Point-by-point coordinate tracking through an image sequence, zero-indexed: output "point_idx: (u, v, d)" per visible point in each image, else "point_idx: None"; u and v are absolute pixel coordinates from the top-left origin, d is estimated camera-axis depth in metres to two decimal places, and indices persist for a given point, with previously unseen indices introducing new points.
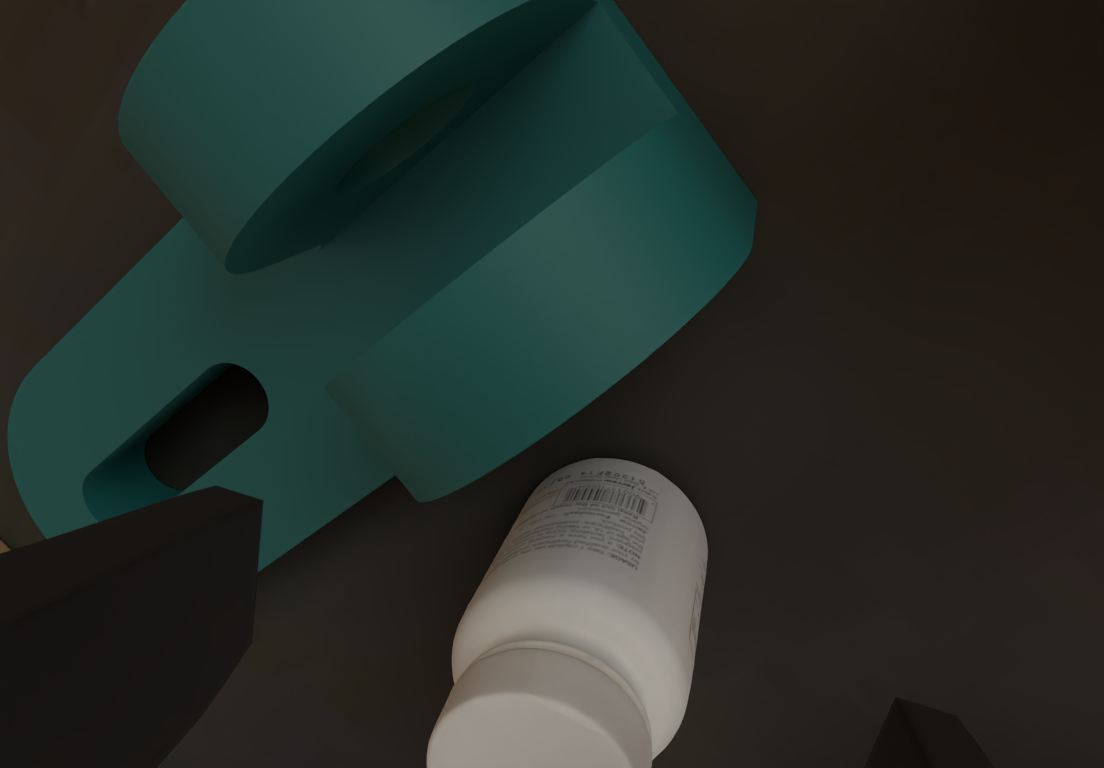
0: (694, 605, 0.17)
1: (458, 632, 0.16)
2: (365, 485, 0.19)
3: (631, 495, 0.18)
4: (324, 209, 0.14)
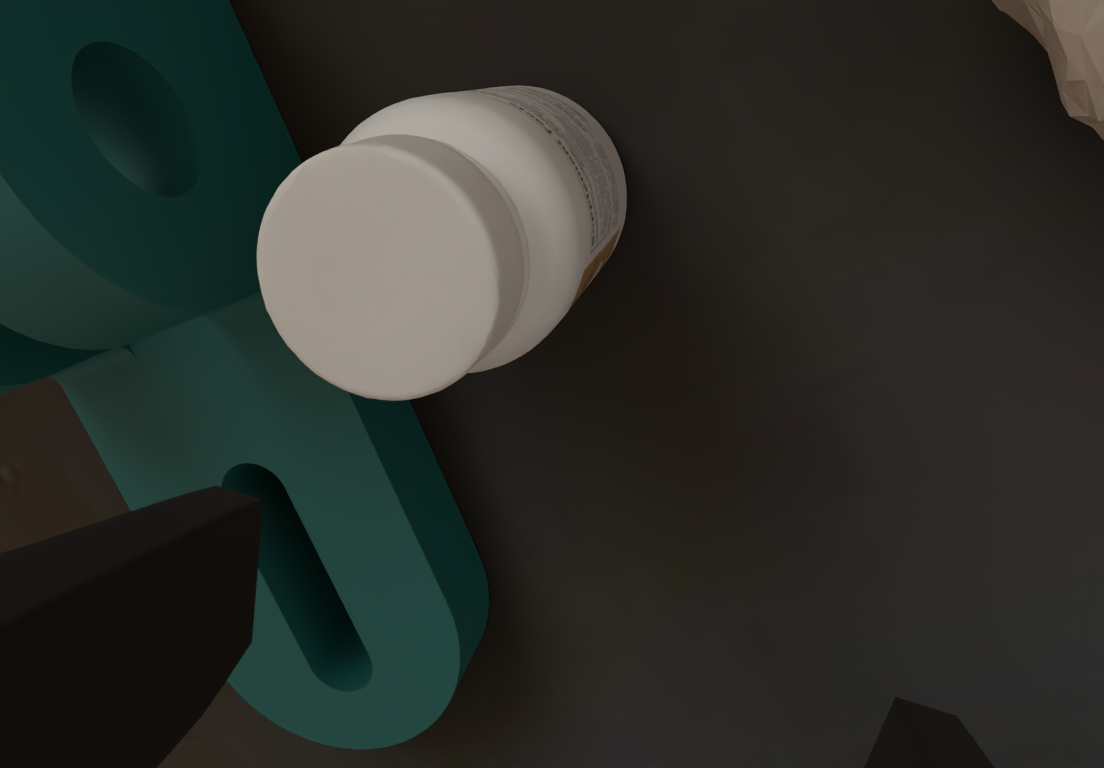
0: (476, 90, 0.15)
1: None
2: (348, 411, 0.19)
3: None
4: None
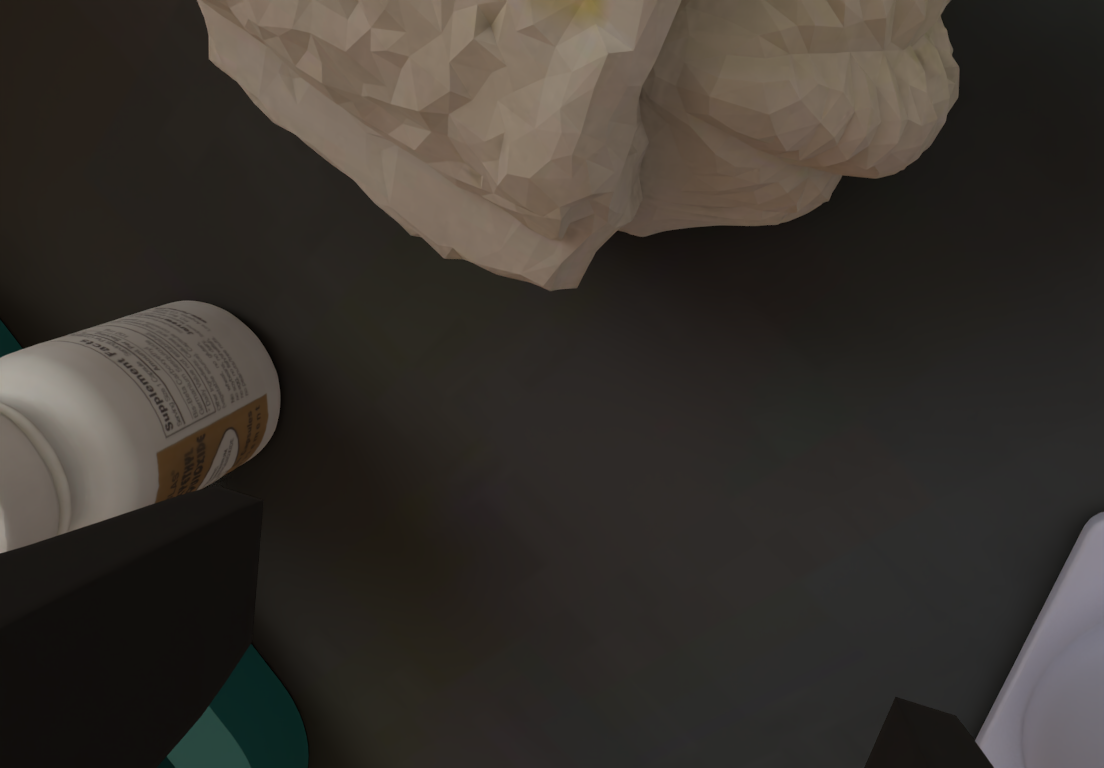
0: (82, 330, 0.19)
1: None
2: None
3: None
4: None
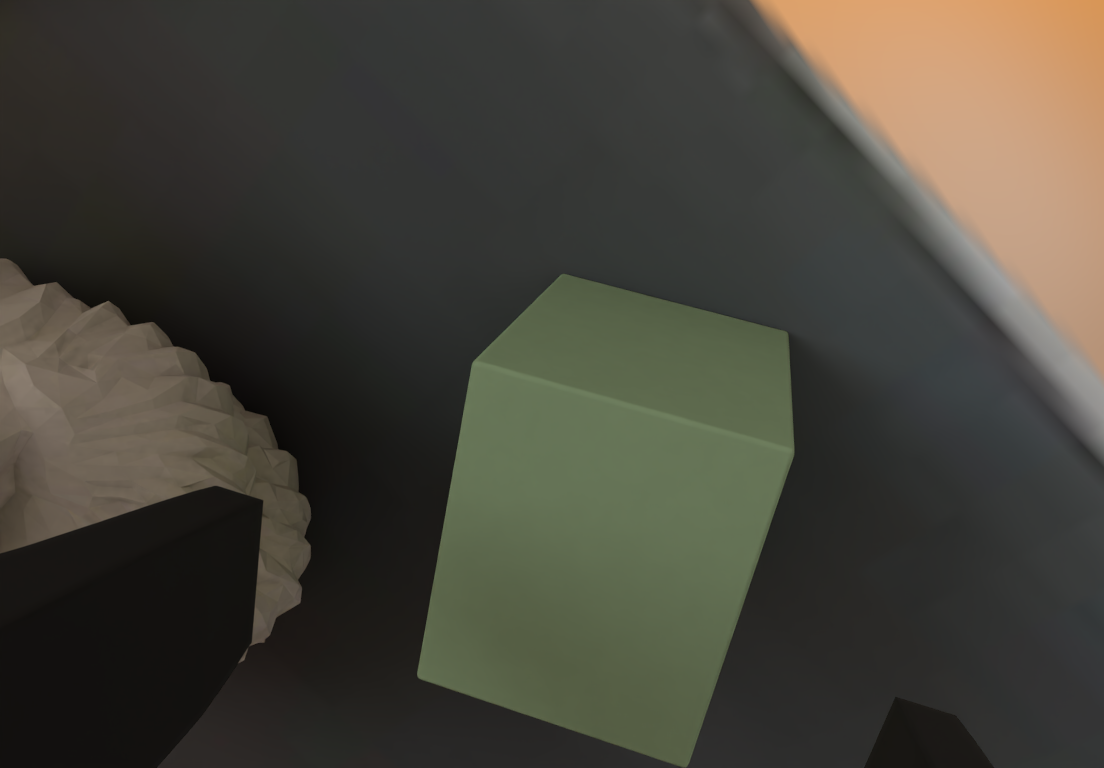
0: None
1: None
2: None
3: None
4: None
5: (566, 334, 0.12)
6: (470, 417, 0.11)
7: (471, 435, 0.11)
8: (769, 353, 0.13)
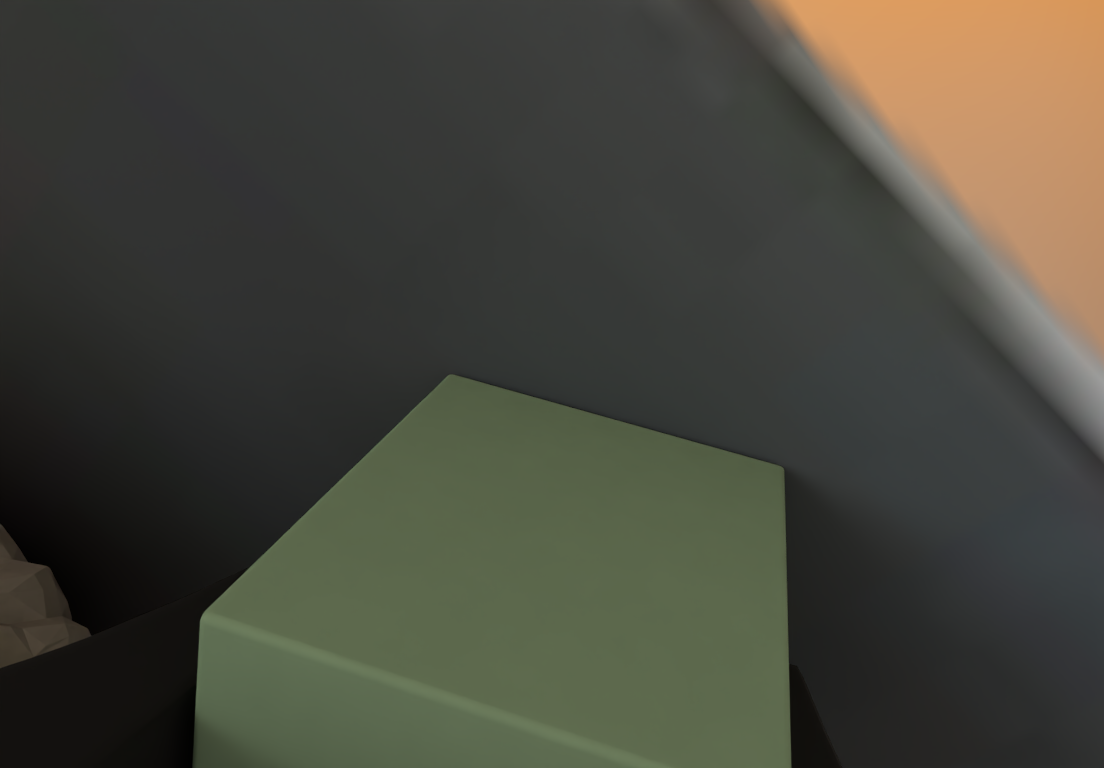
0: None
1: None
2: None
3: None
4: None
5: (411, 516, 0.07)
6: (206, 706, 0.06)
7: (212, 734, 0.06)
8: (753, 522, 0.09)
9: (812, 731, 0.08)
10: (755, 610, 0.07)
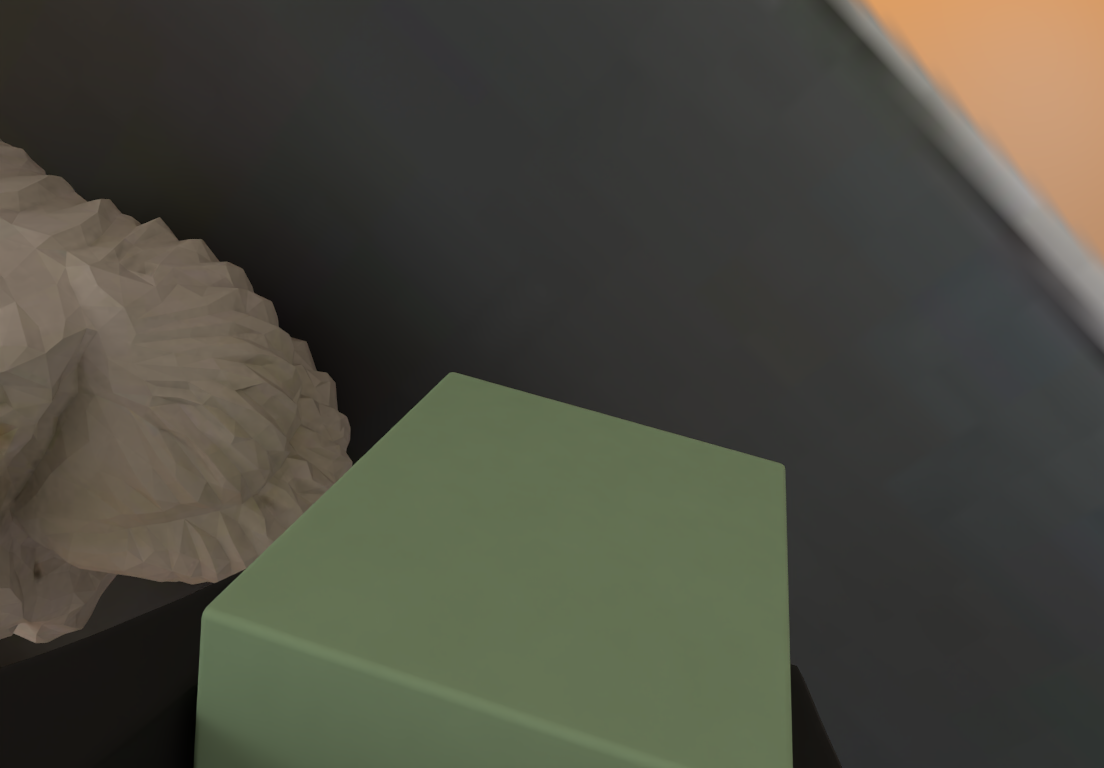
0: None
1: None
2: None
3: None
4: None
5: (413, 512, 0.07)
6: (208, 703, 0.06)
7: (213, 731, 0.06)
8: (754, 519, 0.09)
9: (812, 731, 0.08)
10: (756, 607, 0.07)
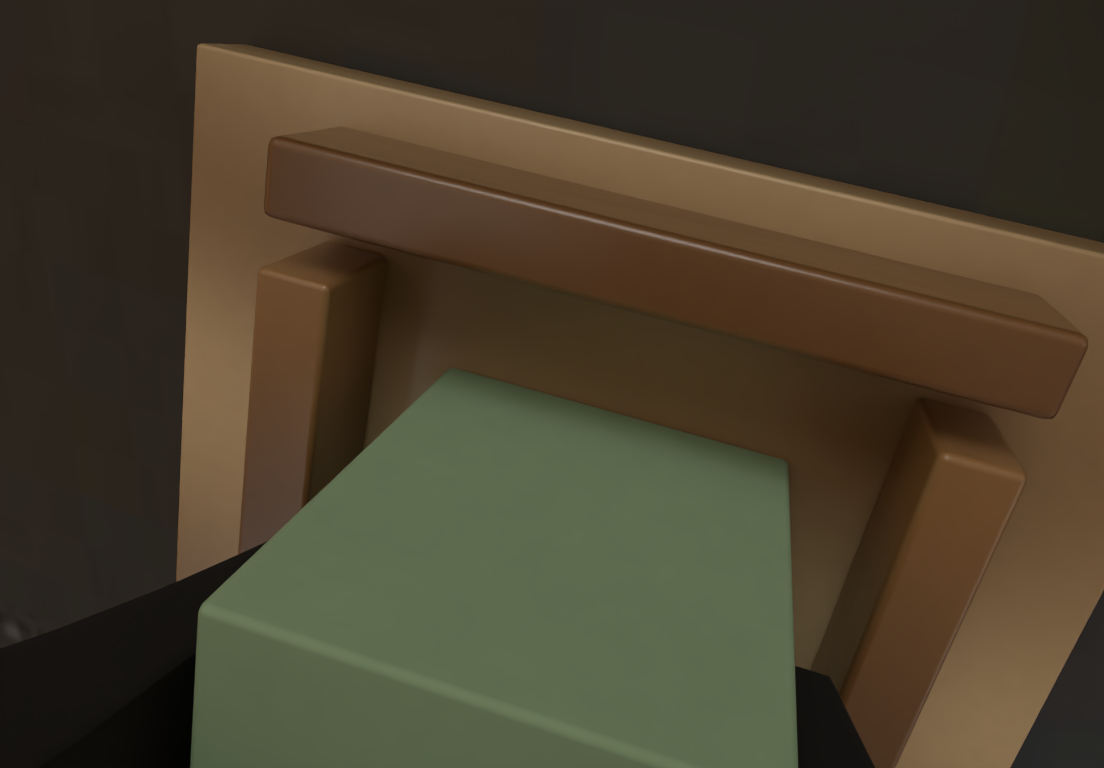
0: None
1: None
2: None
3: None
4: None
5: (413, 509, 0.07)
6: (204, 698, 0.06)
7: (210, 729, 0.06)
8: (757, 515, 0.08)
9: (851, 743, 0.08)
10: (760, 603, 0.07)
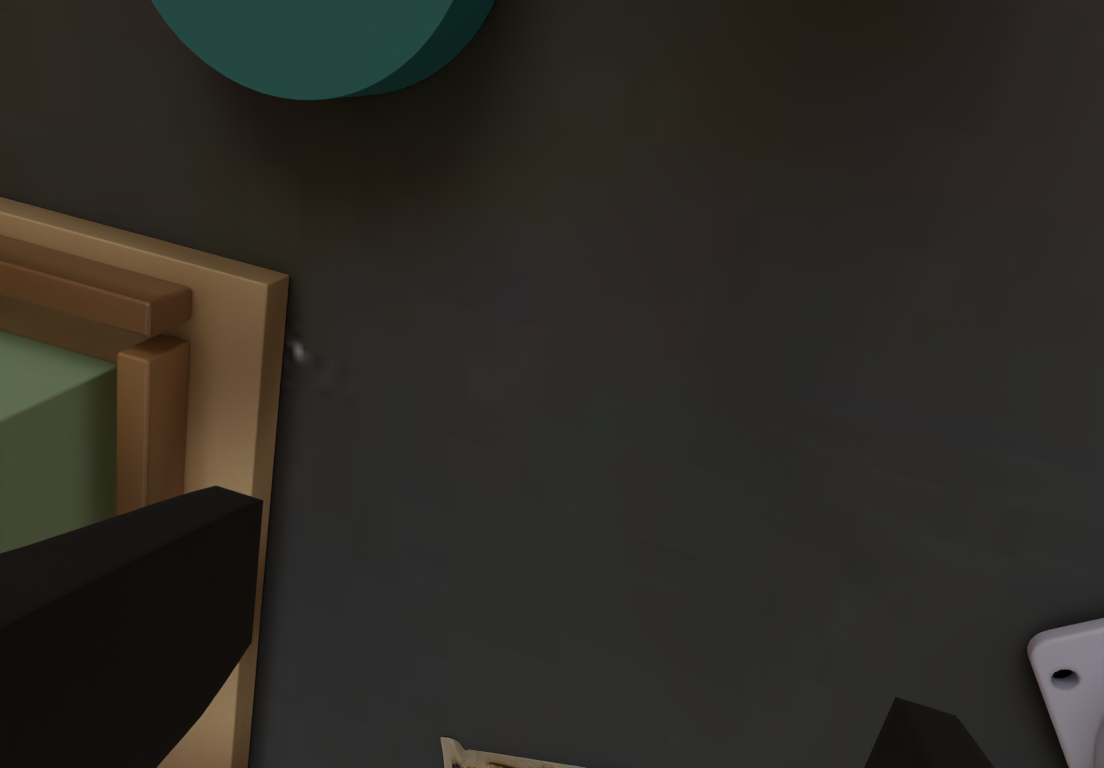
0: None
1: None
2: None
3: None
4: None
5: None
6: None
7: None
8: (60, 382, 0.19)
9: None
10: (9, 406, 0.18)
